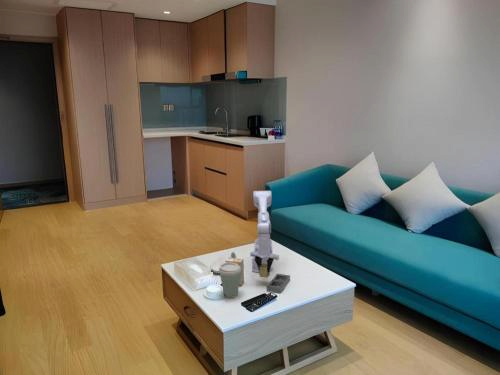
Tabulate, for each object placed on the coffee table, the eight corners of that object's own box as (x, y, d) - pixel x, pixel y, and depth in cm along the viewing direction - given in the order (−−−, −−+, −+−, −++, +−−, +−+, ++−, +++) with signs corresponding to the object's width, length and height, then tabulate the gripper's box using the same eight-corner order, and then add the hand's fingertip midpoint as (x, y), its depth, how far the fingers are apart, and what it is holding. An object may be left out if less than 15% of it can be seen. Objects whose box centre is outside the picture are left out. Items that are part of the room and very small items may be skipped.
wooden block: (259, 276, 193) (259, 265, 192) (262, 273, 197) (262, 262, 196) (267, 278, 192) (266, 267, 191) (269, 274, 195) (269, 263, 194)
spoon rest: (227, 277, 204) (226, 265, 203) (207, 275, 208) (206, 262, 207) (242, 260, 226) (241, 249, 225) (223, 258, 230) (223, 247, 229)
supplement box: (244, 282, 198) (244, 258, 195) (241, 286, 193) (240, 262, 191) (229, 280, 200) (228, 256, 198) (226, 284, 196) (225, 260, 193)
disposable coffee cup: (244, 290, 189) (243, 262, 186) (238, 301, 179) (237, 271, 176) (223, 288, 191) (222, 260, 188) (216, 299, 181) (215, 269, 178)
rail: (266, 291, 188) (266, 286, 187) (277, 277, 202) (277, 273, 202) (280, 293, 185) (280, 288, 185) (289, 279, 200) (289, 275, 199)
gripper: (247, 246, 190) (248, 272, 193) (275, 250, 185) (275, 276, 187) (252, 241, 196) (253, 266, 199) (280, 245, 191) (280, 270, 194)
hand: (264, 271), depth 194 cm, fingers closed on wooden block, 4 cm apart
